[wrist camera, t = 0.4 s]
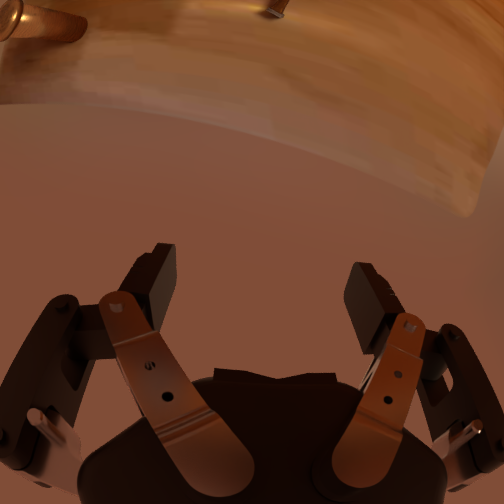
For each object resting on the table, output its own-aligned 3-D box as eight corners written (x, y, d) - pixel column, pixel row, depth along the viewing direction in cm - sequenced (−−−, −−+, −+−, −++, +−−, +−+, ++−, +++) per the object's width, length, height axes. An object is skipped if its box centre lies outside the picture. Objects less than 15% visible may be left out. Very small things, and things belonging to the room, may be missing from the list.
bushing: (76, 10, 20) (6, -4, 8) (96, 18, 22) (23, 1, 10) (58, 40, 23) (-15, 37, 10) (77, 50, 24) (0, 46, 12)
